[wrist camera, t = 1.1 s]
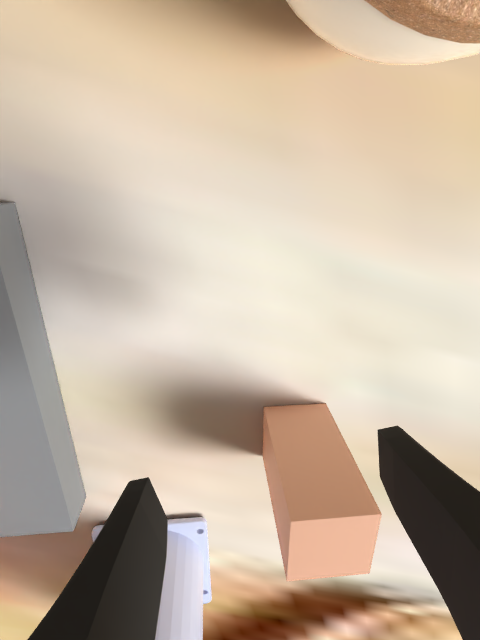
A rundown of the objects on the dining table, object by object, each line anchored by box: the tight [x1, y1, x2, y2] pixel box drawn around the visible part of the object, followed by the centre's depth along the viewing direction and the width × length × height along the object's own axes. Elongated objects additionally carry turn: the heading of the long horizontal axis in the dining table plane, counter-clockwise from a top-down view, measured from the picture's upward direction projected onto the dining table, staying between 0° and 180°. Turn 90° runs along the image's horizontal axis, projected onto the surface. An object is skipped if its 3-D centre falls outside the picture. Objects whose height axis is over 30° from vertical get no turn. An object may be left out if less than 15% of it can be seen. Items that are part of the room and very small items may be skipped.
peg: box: [263, 403, 382, 581], centre depth 20 cm, size 4×4×8 cm
